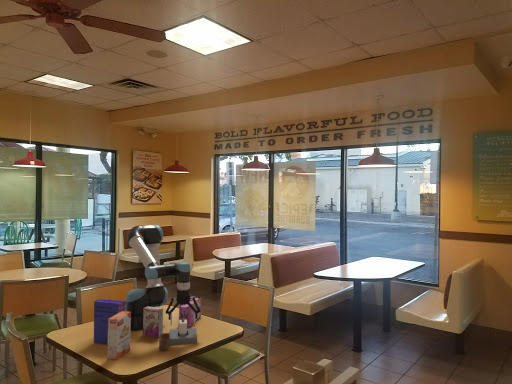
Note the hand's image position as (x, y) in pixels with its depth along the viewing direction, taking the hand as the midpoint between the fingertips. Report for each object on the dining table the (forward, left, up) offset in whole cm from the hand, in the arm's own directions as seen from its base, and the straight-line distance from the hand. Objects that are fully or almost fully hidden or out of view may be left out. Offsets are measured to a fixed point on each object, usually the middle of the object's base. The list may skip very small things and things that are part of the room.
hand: (182, 324), depth 231 cm
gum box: (+5, +31, -8) cm, 32 cm away
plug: (0, 0, -8) cm, 8 cm away
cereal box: (-41, -1, -8) cm, 42 cm away
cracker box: (-33, -18, -8) cm, 38 cm away
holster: (-10, -12, -8) cm, 18 cm away
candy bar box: (-18, +8, -8) cm, 21 cm away
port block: (0, 0, -8) cm, 8 cm away
